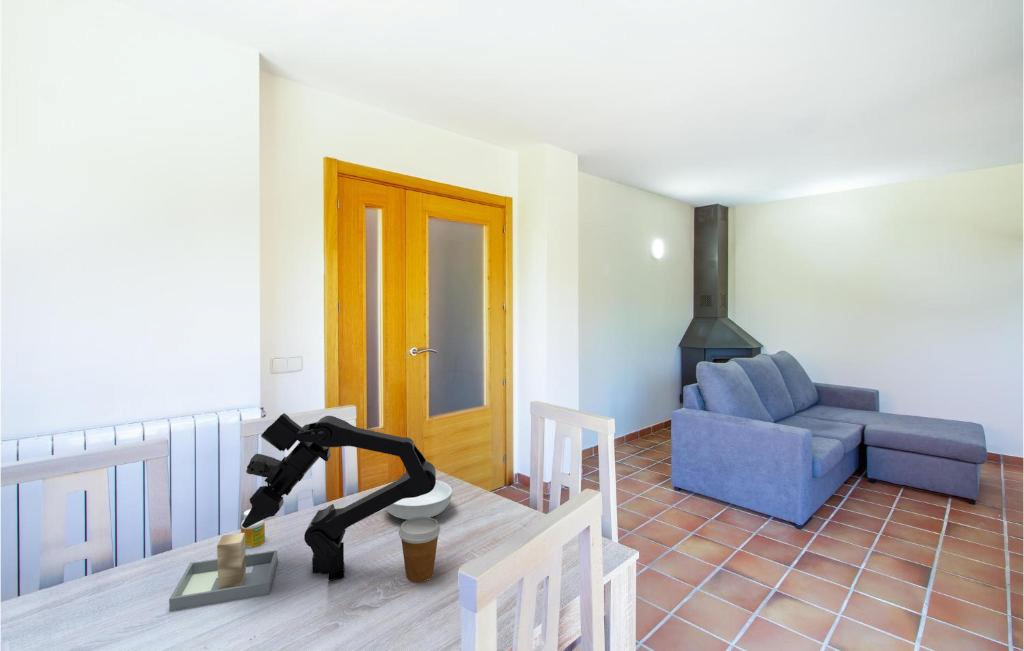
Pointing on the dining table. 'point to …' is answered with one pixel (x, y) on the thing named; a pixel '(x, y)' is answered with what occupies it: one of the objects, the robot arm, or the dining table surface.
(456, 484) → the dining table surface
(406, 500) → the serving bowl
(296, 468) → the robot arm
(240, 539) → the maple post
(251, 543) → the supplement bottle
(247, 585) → the box
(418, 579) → the disposable coffee cup
